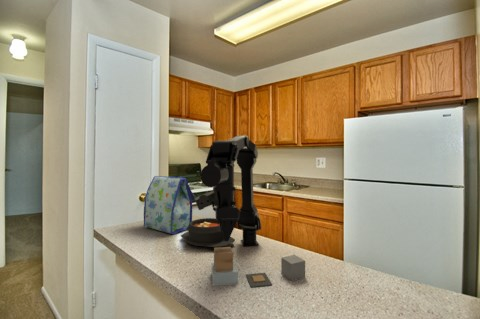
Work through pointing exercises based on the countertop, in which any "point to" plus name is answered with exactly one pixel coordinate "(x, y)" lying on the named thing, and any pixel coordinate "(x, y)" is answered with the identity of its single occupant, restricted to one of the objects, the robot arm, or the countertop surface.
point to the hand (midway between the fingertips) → (224, 235)
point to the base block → (225, 276)
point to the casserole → (206, 233)
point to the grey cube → (293, 267)
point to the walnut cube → (223, 259)
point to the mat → (258, 280)
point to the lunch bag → (168, 204)
